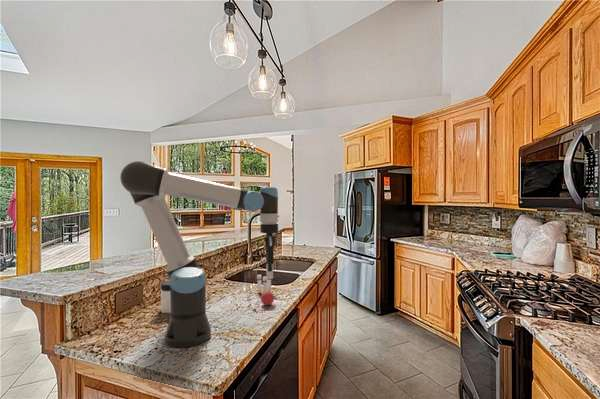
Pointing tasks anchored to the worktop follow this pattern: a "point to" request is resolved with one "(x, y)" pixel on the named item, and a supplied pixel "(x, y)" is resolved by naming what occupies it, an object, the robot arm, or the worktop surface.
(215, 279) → the worktop surface
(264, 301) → the ball
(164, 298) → the jar
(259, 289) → the pin
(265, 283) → the front pin
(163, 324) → the worktop surface
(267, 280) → the pin
